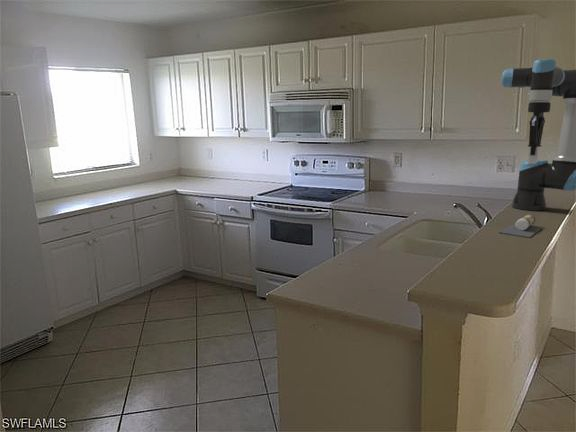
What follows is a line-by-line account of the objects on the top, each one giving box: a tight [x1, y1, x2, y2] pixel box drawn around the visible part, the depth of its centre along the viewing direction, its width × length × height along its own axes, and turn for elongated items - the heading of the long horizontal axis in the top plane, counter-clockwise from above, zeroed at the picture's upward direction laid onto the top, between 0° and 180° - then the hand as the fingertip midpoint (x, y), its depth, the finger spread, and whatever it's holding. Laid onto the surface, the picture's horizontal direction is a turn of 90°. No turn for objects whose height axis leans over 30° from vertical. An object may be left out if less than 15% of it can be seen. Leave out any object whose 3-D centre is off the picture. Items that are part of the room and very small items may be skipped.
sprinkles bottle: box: [515, 213, 537, 231], centre depth 194 cm, size 5×5×14 cm
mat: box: [498, 222, 544, 239], centre depth 191 cm, size 20×11×1 cm, turn 140°
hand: (532, 163), depth 189 cm, fingers closed
